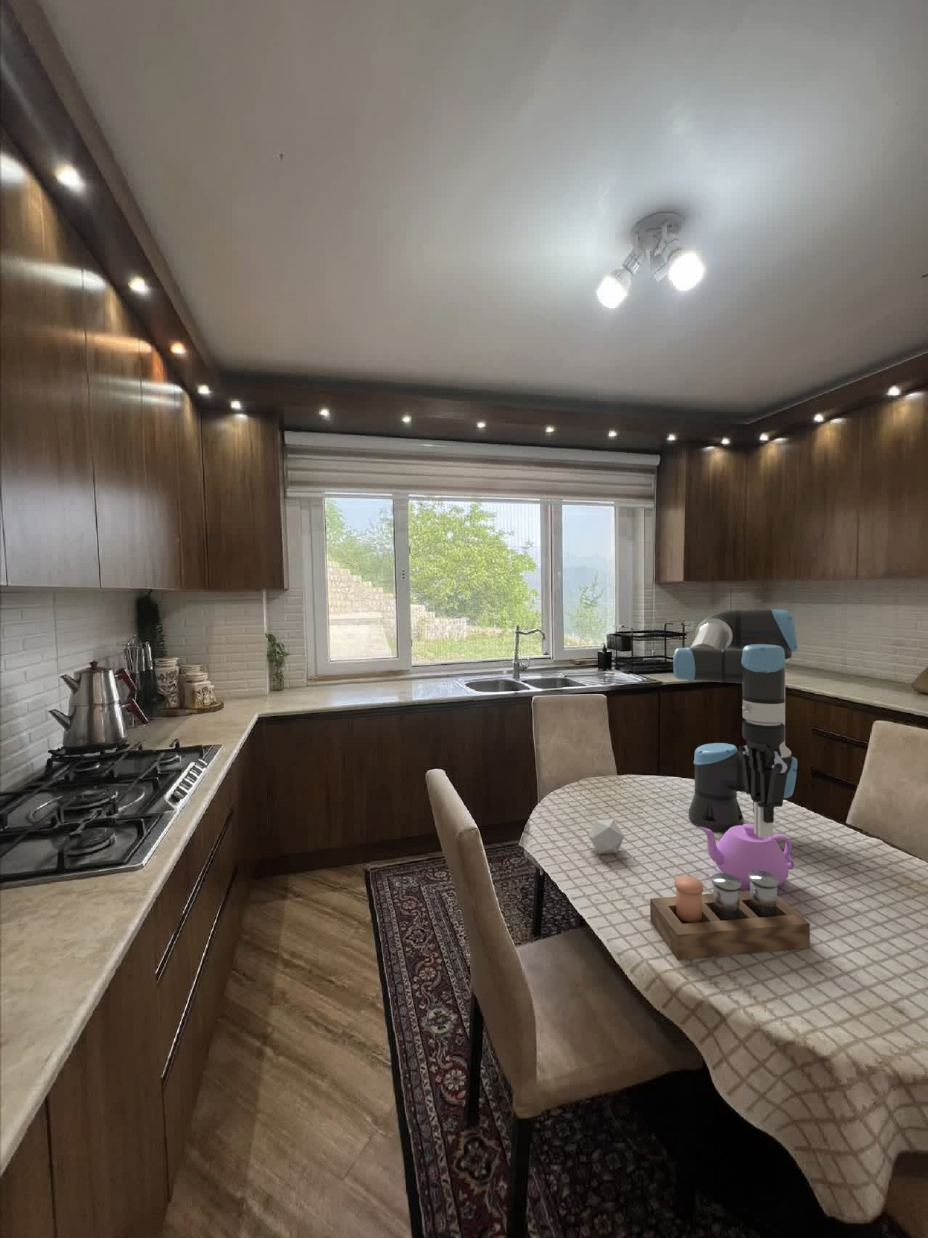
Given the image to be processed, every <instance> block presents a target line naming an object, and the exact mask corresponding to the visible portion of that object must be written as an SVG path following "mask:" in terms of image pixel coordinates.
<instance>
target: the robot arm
mask: <svg viewBox="0 0 928 1238" xmlns="http://www.w3.org/2000/svg"><path fill="white" fill-rule="evenodd" d="M797 639H798V638H797V634H796V627H795V622H794V617H793V614H792V612H790V611H789V610H786V609H775V608H771V609H770V608H768V609H766V608H765V609H730V610H728V609H727V610H724V611H719V612H717V613H714V614H711V615H710V616H708V617H706V618H704V619H703V620H702V621H700V623H699V624H698V625H697V627H696V628H695V632H694V640H693V641H692V644H691V646H690V647H688V646H686V647H677V648H676V649H675V650H674V653H673V657H672V658H673V660H672V665H673V666H672V667H673V668H672V669H673V674H674V677H675V679H677V680H684V681H690V682H694V681H698V682H699V681H700V682H714V683H715V682H718V683H731V684H732V683H733V684H734V683H735V684H742V697H741V698H742V707H741V708H742V719H744V720H743V721H741V723H742V726H741V727H742V730H741V731H742V732H741V733H742V734H741V735H742V738H743V739H744V740H745V741H746V745H743V746H739V747H738V748H737V746H736V745H735V744H731V743H730V744H729V743H726V742H725V743H724V742H713V743H705V744H702V745H700V746H697V748H695V750H694V758H693V759H694V760H693V765H694V767H693V768H694V794H693V796H692V800H691V802H690V805H689V809H688V819H689V821H690V822H691V823H692V824H694V825H696V826H698V827H699V828H700V827H704V828H707V829H710V830H711V831H713V832H721V833H722V832H724V833H726V832H727V831H728V830H729V829H730V828H731V827H733V826H739V825H743V824H745V823H744V815H743V813H742V810H741V807H740V804H739V801H738V793H746V794H747V795H750V799H751V800H752V806H753V807H752V813H753V824H754V833H755V834H758V836H759V837H773V835H774V820H775V816H774V815H775V812H774V811H775V808H779V807H781V808H782V807H783V803H784V799H789V798H790V797H792V796H793V794H794V790H795V787H796V780H797V772H798V771H797V769H798V759H797V758H796V757H794V756H792V751H791V750H790V748H789V747H787V746H786V664H787V663H788V662H789V661H790V660H791V659H792V655H793V654H792V653H796V652H798V651H799V648H798V641H797Z"/></svg>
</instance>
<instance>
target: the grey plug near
mask: <svg viewBox="0 0 928 1238" xmlns="http://www.w3.org/2000/svg"><path fill="white" fill-rule="evenodd" d="M748 878H749V881H750V887H749V891H750V908H751V909H752V910H753V911H754V912H755V913H757V914H760V915H763V916H769V917H770V916H775V915H776V914H777V896H778V892H777V888H778V887H779V886H780V885H779V880H778V878H777V877H776V876H775V875H773V874H771V873H768V872H765V871H759V870H755V871H751V872H749V874H748ZM778 885H779V886H778Z"/></svg>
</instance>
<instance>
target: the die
mask: <svg viewBox="0 0 928 1238" xmlns="http://www.w3.org/2000/svg"><path fill="white" fill-rule="evenodd" d="M592 823H593V824H592V826H591V829H590V830H589V834H588V838H589V840H590V841H591V843H592V845H593V847H594V849H595V850H596V853H597V854H598V855H599V854H601V855H602V854H618V853H619V850H620V848H621V845H622V843H623V841H624V838H625V836H624V834H623V832H622V830H621V829H620V828H619V826H618V824H617V823H616V821H615V819H595V820H594V821H593V822H592Z"/></svg>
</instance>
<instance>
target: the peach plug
mask: <svg viewBox="0 0 928 1238" xmlns="http://www.w3.org/2000/svg"><path fill="white" fill-rule="evenodd" d="M674 887H675V888H676V889H675V890H676V891H675V897H676V914H677V916H678V917H679V918H680V919H682V920H683V921H686V922H690V923H697V922H700V921H701V920H702V894H703V892H704V883H703V882H702V881H701V880H700V879H698V878H696V877H694V876H689V875H680V876H679V875H678V876H677V877H675V878H674Z"/></svg>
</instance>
